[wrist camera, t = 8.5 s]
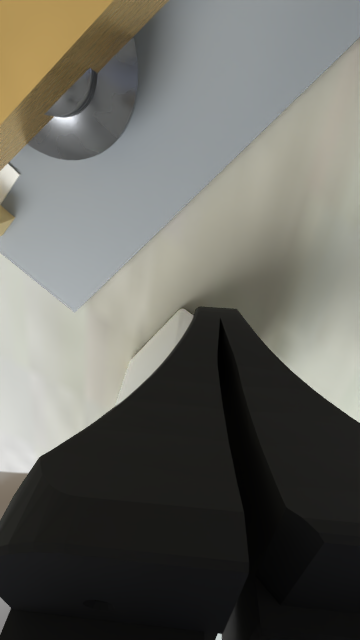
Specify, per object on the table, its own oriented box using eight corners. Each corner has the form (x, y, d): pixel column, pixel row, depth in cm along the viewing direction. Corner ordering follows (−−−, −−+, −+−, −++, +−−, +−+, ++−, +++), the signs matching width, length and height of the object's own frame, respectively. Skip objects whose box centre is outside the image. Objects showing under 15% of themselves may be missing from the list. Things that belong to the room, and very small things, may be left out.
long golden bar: (231, 41, 12) (242, 6, 8) (25, 221, 16) (-18, 240, 13) (121, -217, 9) (75, -416, 6) (-93, 89, 13) (-185, 74, 10)
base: (78, -629, 7) (31, -922, 5) (369, 25, 13) (399, 4, 11) (-152, 118, 16) (-201, 115, 14) (78, 307, 22) (66, 323, 20)
